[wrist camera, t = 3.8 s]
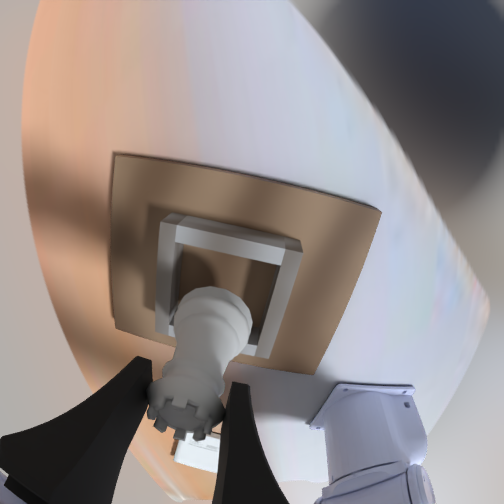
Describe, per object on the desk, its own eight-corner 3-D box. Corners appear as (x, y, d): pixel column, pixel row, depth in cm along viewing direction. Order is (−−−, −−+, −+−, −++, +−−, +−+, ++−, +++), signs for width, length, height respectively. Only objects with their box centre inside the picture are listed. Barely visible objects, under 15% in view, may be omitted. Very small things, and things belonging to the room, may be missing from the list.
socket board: (376, 208, 16) (394, 221, 14) (312, 366, 22) (315, 393, 19) (123, 154, 16) (98, 159, 14) (120, 321, 22) (105, 342, 19)
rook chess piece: (166, 296, 16) (102, 390, 8) (233, 271, 15) (198, 374, 8) (201, 353, 17) (166, 454, 10) (264, 334, 16) (258, 447, 9)
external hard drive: (175, 452, 33) (185, 419, 28) (226, 466, 33) (251, 436, 28) (172, 461, 31) (182, 429, 26) (225, 474, 32) (249, 447, 27)
